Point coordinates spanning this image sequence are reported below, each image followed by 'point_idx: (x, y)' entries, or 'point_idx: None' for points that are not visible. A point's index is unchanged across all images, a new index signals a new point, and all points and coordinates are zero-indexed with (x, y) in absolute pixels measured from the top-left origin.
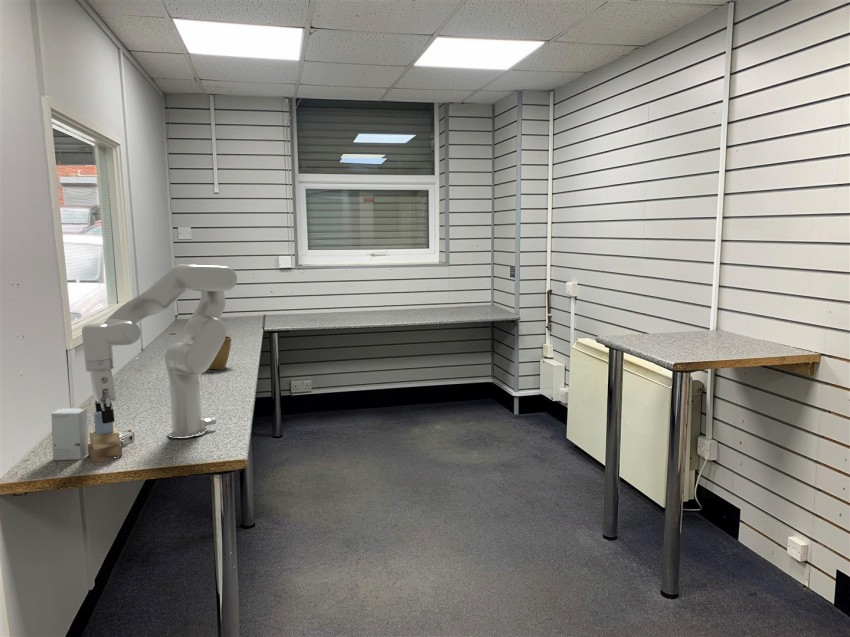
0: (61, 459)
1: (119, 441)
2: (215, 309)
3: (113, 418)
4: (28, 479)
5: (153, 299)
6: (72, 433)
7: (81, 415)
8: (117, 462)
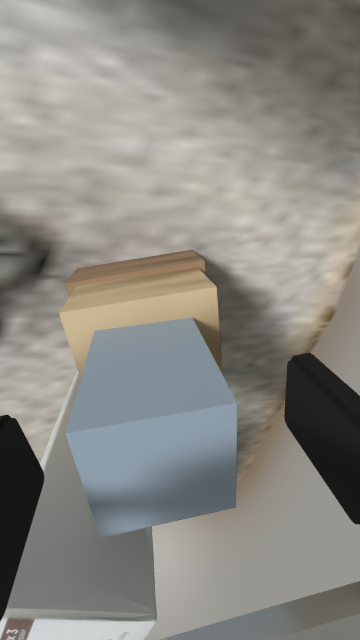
0: None
1: (202, 273)
2: None
3: (323, 370)
4: (238, 473)
5: None
6: None
7: (115, 577)
8: (250, 270)
